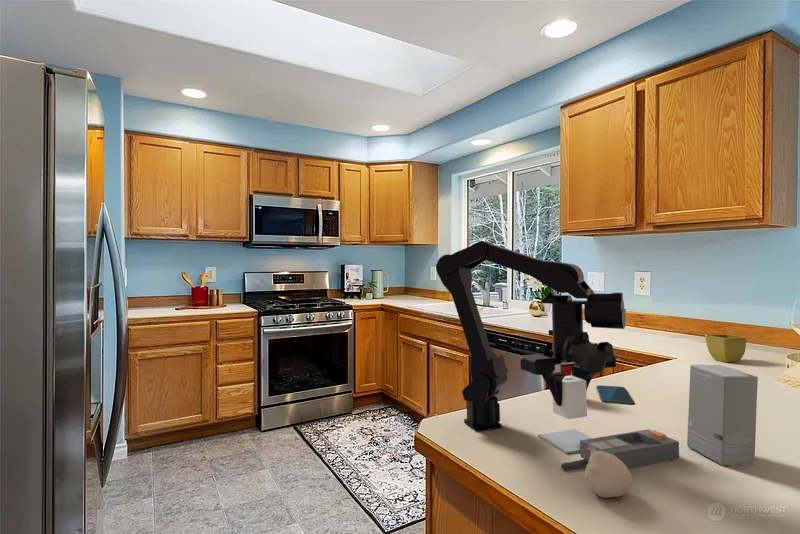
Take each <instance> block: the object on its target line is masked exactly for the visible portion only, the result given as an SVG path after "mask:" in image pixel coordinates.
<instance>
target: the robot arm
mask: <svg viewBox="0 0 800 534" xmlns="http://www.w3.org/2000/svg"><path fill="white" fill-rule="evenodd" d="M485 261H488V262H490V263H493V264H496V265H498V266H502V267H505V268H508V269H511V270H513V271H516V272H519V273H521V274H524V275H527V276H530V277H532V278H534V279H535V280H537V281H538V282H539V283H541V284H543V286H546V287H548V288H550V289H551V290H553V291H548V292H547V294H546V296H545V297H543V298H542V299H541V300H540V302H541V304H550V305H551V318H552V321H551V323H552V329H548V336H551V337H552V349H549V350H548V355H549V356H550V357H549V356H546V355H543V354H540V353H534V354H524V355H523V356H522V357H521V359H520V369H521V370H523V371H525V372H528V373H531V374H533V375H537V376H542V378H543V380H544V381H545V383H546V384H547V385H546V386H547V387H548V389H549V391H550V394H551V396H552V399H553V398H554V400H555V402H556V404H557V405H558V406H562V380H563V378H564V377H565V375H566V374H564V373H561V367H562V366H571V368H572V375H573V376H574V377H577V378H580V379H583V380H585V381H586V391H587V390H588V387H589V385H590V383H591V380H592V379H593V378H594V377H595V376H596V375H597V374H600V373H602V371H603V370H605V369H609V368H617V357H616V356H615V354H614V348H613V344H612V343H610V342H609V341H602V342H598V343H596V342H595V343H593V342H591V341H590V336H589V334H588V332H587V331H584V321H585V322H586V323H587V324H590V327H591V328H595V329H597V328H598V329H617V330H619V329H620V330H625V328H626V322H627V321H626V320H627V319H626V316H627V314H626V313H627V312H626V310H627V309H626V308H625V302H624V294H623V292H612V293H606V292H605V293H603V292H602V293H601V292H600V293H595V292H594V290H593V289H592V287H590V285H588V283H587V282H586V280H585V277H584V272H583V271H582V269H581V267H579V266H578V265H576V264H573V263H568V262H559V261H553V260H545V259H539V258H537V257H534V256H531V255H527V254H524V253H521V252H517V251H516V250H512V249H509V248H505V247H503V246H500V245H497V244H494V243H493V242H492V241H491V242H490V241H486V240H485V241H484V240H479V241H477V242H475V243H473V244H472V245H469V246H468V247H465V248H462V249H459V250H458V251H456V252H454V253H452V254H449V253H448V254H444V255H442V256H440V257H439V258H438V260H437V262H436V263H435V264H436V265H435V269H436V273H437V275H438V277H439V279H440V281H441V283H442V285H443V286H444V287H445V289H446V290H447V291H448V292H449V293H450V295H451V297H452V300H453V303H454V307H455V310H456V313H457V316H458V319H459V322H460V325H461V328H462V332H463V334H464V337H465V340H466V344H467V347H468V349H469V353H470V363H469V364H470V365H469V372H470V378H471V381H470V383H468V384H467V386H465V387H464V388H463V389H462V390H461V393H462V396H463V399H464V401H465V403H466V418H464V419H463V422H464V423H465V424H466V425H468V426H469V427H470V428H471V429H473V430H474V431H476V432H478V431H479V432H480V431H484V430H485V431H486V430H492V429H499V428H503V424H502V423H500V421H501V410H500V409H501V408H500V406H501V404H500V403H499V401H498V400H499V398H498V396H496V395H499V394H500V389H501V388H503V387H504V386H505V385H506V383H507V381H508V373H509V372H510V370H509V369H508V368H507V366H506V364H505V359H504V355H503V354H502V353H500V354H498V355H497V354H496V353H495V352H494V350H493V349H492V348H491V345H490V342H489V339H488V336H487V333H486V330H485V327H484V323H483V321H482V318H481V315H480V311H479V307H478V305H477V303H476V300H475V297H474V293H473V290H472V285H473V284H472V282H473V272H472V270H474V269H475V268H477V267H478V266H480V265H481V264H483V263H484V262H485ZM554 291H555V292H556V293H561V294H556V293H555V292H554ZM562 294H565V295H562ZM566 294H567V295H566ZM572 297H573V298H575V299H573V298H572ZM576 299H578V300H576ZM581 299H586V300H581ZM583 306H584V309H583ZM583 310H584V313H583ZM583 314H584V315H583ZM583 319H584V320H583ZM561 361H565V362H561ZM587 392H588V391H587Z"/></svg>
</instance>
